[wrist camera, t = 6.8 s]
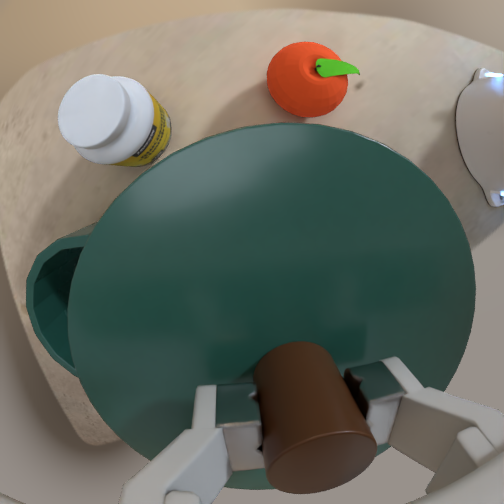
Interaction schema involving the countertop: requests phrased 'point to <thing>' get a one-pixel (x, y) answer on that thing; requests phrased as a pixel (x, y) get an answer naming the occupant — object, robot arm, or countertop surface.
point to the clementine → (308, 79)
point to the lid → (270, 293)
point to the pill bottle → (114, 121)
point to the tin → (55, 294)
